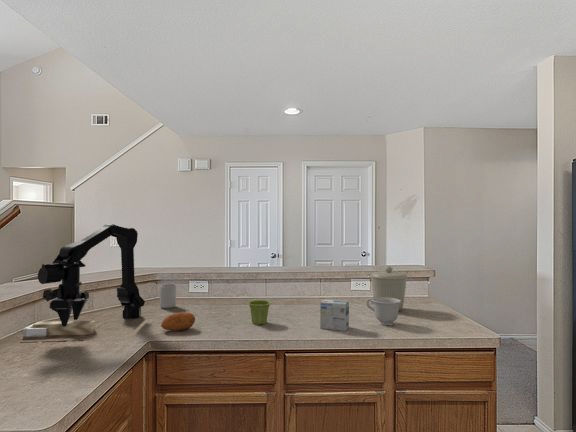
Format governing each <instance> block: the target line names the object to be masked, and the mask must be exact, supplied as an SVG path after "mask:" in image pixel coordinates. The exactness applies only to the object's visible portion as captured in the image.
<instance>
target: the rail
mask: <svg viewBox="0 0 576 432" xmlns="http://www.w3.org/2000/svg"><path fill="white" fill-rule="evenodd" d="M96 322H97V321H96V320H68V323H67V325H66V327H63V326H62V323H61V320H59V321H58V320H56V321H37V322H35V324H34V323H33V328H48V335H86V334H87V335H93V334H94V333H95V332H96V329H97V328H96ZM87 335H86V336H87Z"/></svg>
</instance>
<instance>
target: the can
mask: <svg viewBox="0 0 576 432" xmlns="http://www.w3.org/2000/svg"><path fill="white" fill-rule="evenodd" d="M159 290H160V292H159V295H160V296H159V306H160V308H161V309H165V310H166V309H174V308H175V306H176V305H177V304H176V303H177V302H176V301H177V285H176V283H175V282H163V283H161V285H160V287H159Z"/></svg>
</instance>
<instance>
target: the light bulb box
mask: <svg viewBox="0 0 576 432" xmlns="http://www.w3.org/2000/svg"><path fill="white" fill-rule="evenodd" d="M349 302H350V301H349V300H337V299H336V300H335V299H323V300H321V301H320V304H319V305H320V311H319V312H320V314H319V315H320V322H319V325H320V326H319V328H320V329H322V330H334V331H342V332H343V331H345V332H346V331H347V330H348V329H349V328H350V306H349V305H350V303H349Z"/></svg>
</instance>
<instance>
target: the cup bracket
mask: <svg viewBox="0 0 576 432" xmlns="http://www.w3.org/2000/svg"><path fill="white" fill-rule="evenodd" d="M35 323H36V322H35ZM35 323H33V324H35ZM33 324H30V325H28V326H26V327H25V328H22V337H23V338H30V337H47V336H48V328H33ZM30 339H31V338H30Z"/></svg>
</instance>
